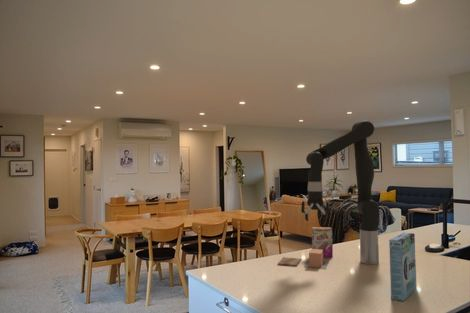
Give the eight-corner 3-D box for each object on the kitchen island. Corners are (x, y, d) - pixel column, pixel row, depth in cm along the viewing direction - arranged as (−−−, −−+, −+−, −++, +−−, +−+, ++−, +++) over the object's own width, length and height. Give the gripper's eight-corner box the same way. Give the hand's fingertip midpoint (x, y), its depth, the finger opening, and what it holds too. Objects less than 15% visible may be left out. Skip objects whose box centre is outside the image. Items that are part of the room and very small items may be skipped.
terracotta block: (323, 262, 192) (323, 249, 192) (321, 267, 184) (320, 253, 184) (311, 262, 194) (311, 248, 194) (309, 266, 186) (309, 252, 186)
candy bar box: (312, 257, 204) (312, 228, 204) (311, 255, 209) (311, 227, 209) (333, 258, 202) (332, 228, 203) (331, 255, 207) (331, 227, 208)
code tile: (328, 262, 194) (328, 262, 194) (325, 269, 181) (325, 269, 181) (307, 260, 197) (307, 260, 197) (303, 267, 184) (303, 267, 184)
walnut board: (301, 260, 198) (301, 258, 198) (296, 266, 186) (296, 264, 186) (283, 259, 202) (283, 257, 202) (277, 265, 189) (277, 263, 189)
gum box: (403, 301, 137) (402, 241, 138) (389, 298, 141) (388, 239, 141) (417, 288, 152) (415, 233, 153) (404, 285, 156) (402, 232, 156)
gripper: (329, 189, 191) (330, 220, 191) (302, 189, 196) (303, 219, 196) (328, 190, 184) (328, 223, 184) (300, 190, 189) (300, 221, 188)
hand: (315, 221), depth 190 cm, fingers open, 8 cm apart
